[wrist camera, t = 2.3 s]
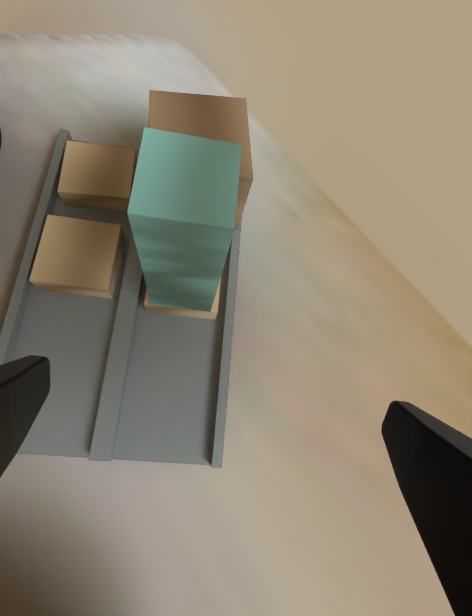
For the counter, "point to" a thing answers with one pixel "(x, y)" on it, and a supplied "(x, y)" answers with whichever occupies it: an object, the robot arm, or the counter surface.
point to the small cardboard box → (97, 176)
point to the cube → (207, 126)
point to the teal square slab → (184, 219)
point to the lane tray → (121, 356)
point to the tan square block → (78, 257)
